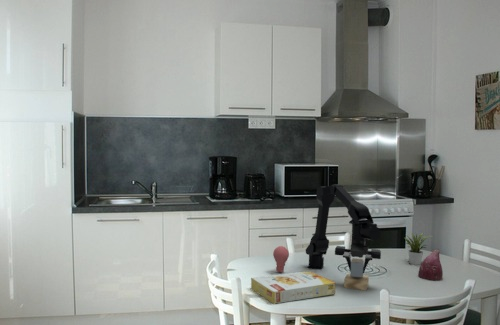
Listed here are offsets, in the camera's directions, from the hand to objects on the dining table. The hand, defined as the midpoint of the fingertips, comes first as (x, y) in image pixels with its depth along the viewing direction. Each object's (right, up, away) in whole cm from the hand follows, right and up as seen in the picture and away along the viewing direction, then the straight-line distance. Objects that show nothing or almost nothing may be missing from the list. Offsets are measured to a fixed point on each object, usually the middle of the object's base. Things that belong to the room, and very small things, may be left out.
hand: (356, 272), depth 204 cm
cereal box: (-28, -6, -10) cm, 30 cm away
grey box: (0, -1, 0) cm, 1 cm away
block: (0, -6, 0) cm, 6 cm away
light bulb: (-31, -4, +17) cm, 36 cm away
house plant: (+39, -5, +40) cm, 57 cm away
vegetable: (+37, -6, +16) cm, 41 cm away
